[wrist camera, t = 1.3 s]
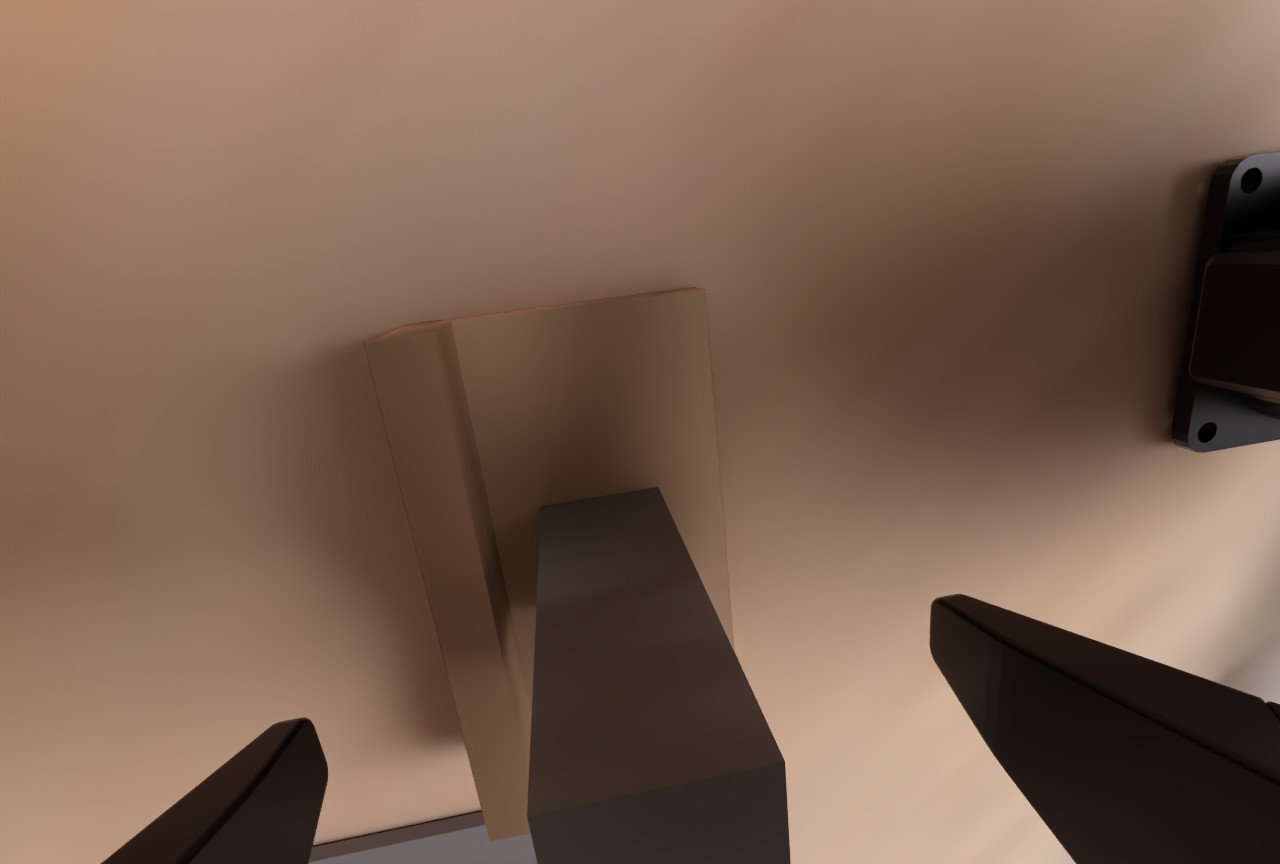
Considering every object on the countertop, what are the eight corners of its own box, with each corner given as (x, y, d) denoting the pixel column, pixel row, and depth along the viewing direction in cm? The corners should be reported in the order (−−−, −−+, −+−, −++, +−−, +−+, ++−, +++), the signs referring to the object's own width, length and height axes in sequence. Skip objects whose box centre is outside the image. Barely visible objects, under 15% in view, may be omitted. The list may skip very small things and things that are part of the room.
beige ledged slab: (692, 286, 12) (925, 336, 5) (728, 689, 15) (904, 1126, 8) (406, 323, 12) (132, 451, 4) (501, 735, 15) (445, 1257, 7)
